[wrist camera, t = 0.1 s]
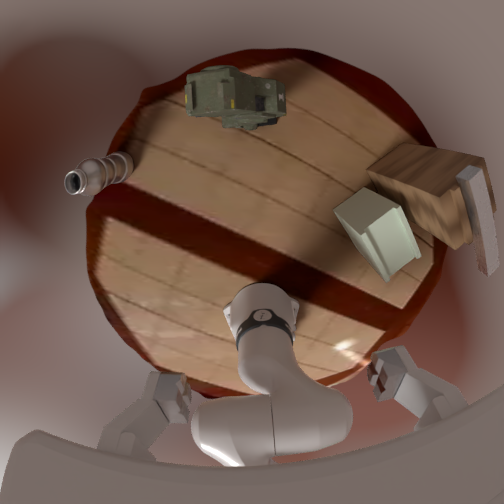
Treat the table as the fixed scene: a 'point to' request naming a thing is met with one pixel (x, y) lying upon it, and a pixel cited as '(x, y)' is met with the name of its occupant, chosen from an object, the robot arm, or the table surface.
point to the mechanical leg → (234, 97)
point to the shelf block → (378, 231)
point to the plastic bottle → (99, 173)
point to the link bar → (480, 218)
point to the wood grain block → (429, 188)
